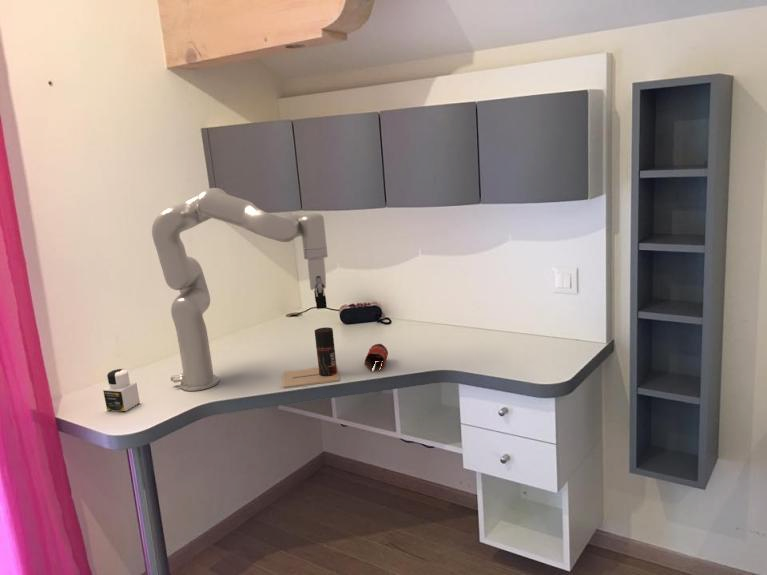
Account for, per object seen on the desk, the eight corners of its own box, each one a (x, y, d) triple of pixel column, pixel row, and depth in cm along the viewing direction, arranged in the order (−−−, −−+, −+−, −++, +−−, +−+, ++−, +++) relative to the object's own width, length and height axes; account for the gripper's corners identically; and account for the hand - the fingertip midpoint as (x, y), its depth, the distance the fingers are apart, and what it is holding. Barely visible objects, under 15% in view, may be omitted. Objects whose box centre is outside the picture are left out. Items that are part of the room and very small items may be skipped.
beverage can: (389, 359, 228) (388, 341, 226) (385, 372, 216) (384, 353, 215) (369, 360, 229) (367, 342, 227) (364, 372, 217) (362, 353, 216)
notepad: (283, 388, 209) (283, 386, 209) (283, 373, 223) (283, 371, 222) (339, 381, 211) (339, 379, 211) (336, 367, 225) (336, 365, 225)
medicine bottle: (106, 410, 203) (99, 374, 200) (122, 401, 209) (116, 366, 207) (124, 412, 200) (117, 375, 198) (140, 403, 207) (134, 367, 204)
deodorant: (332, 376, 214) (328, 332, 210) (316, 375, 216) (311, 332, 212) (339, 370, 219) (335, 327, 216) (323, 369, 221) (319, 327, 218)
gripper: (303, 250, 216) (308, 300, 220) (304, 258, 200) (310, 312, 203) (325, 247, 217) (330, 297, 221) (328, 256, 201) (334, 309, 204)
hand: (321, 304), depth 212 cm, fingers open, 9 cm apart
